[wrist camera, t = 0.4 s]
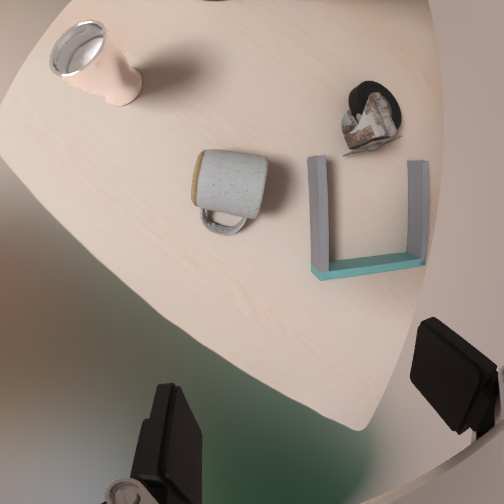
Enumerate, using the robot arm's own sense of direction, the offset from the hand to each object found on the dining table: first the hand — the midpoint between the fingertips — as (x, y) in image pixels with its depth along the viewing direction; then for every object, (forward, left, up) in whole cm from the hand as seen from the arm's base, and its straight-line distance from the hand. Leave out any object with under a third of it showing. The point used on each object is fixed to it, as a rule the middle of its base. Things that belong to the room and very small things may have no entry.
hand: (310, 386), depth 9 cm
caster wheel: (-16, +18, -30) cm, 39 cm away
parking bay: (-2, +18, -30) cm, 35 cm away
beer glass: (-23, -16, -30) cm, 41 cm away
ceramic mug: (-5, -2, -30) cm, 31 cm away
